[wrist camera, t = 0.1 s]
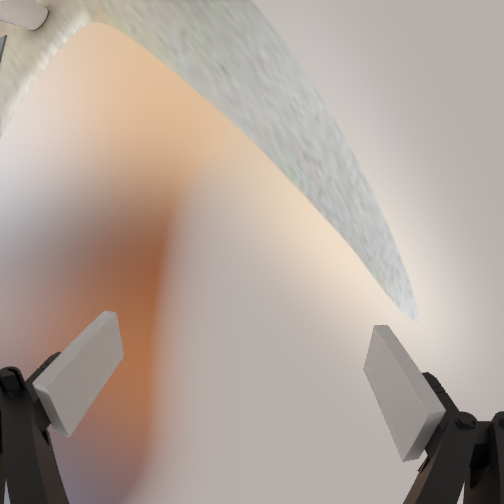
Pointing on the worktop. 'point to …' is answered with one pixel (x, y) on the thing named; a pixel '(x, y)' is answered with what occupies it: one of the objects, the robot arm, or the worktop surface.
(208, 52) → the worktop surface
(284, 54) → the worktop surface
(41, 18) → the drinking glass
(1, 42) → the rubber mat
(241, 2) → the worktop surface
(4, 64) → the worktop surface
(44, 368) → the robot arm
